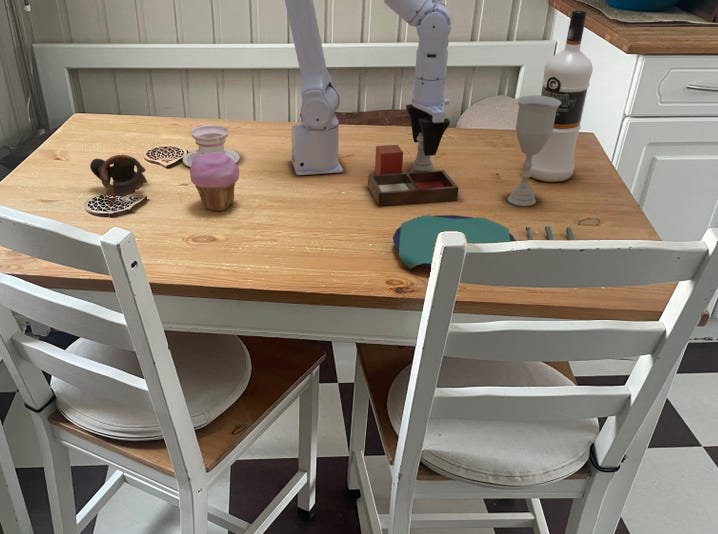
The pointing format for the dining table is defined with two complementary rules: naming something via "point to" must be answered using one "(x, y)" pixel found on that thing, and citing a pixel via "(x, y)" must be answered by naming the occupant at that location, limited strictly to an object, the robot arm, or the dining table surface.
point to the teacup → (209, 143)
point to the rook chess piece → (421, 158)
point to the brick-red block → (388, 159)
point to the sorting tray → (412, 187)
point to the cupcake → (214, 179)
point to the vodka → (564, 105)
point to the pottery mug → (119, 175)
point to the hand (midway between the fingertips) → (424, 148)
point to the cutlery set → (422, 231)
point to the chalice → (532, 138)
